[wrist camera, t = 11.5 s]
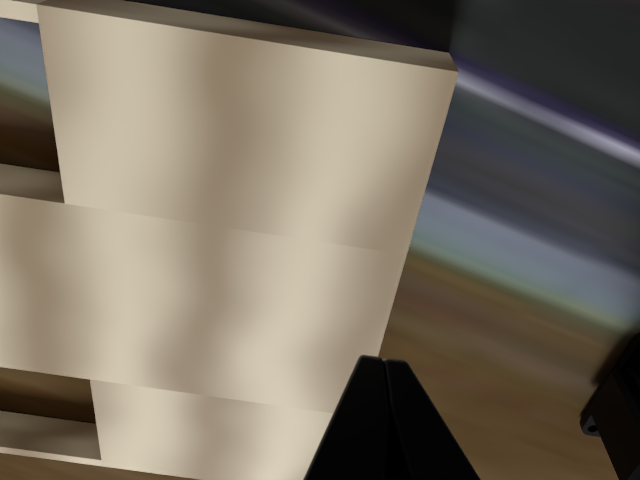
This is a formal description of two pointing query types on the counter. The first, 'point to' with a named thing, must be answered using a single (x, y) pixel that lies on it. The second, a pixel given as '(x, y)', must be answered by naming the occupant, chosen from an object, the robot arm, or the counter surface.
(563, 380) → the counter surface
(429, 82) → the trap board
